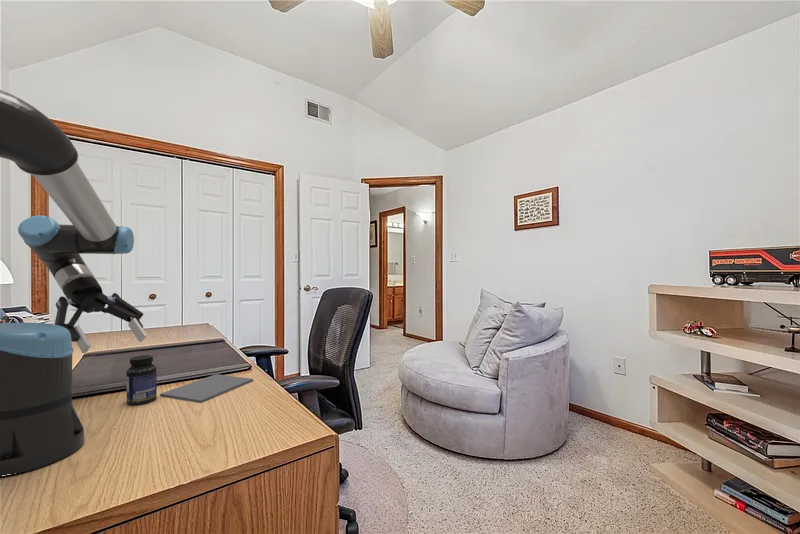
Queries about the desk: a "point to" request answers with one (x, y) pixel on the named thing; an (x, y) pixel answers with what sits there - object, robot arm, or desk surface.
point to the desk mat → (206, 388)
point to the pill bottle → (141, 380)
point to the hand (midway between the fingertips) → (117, 343)
